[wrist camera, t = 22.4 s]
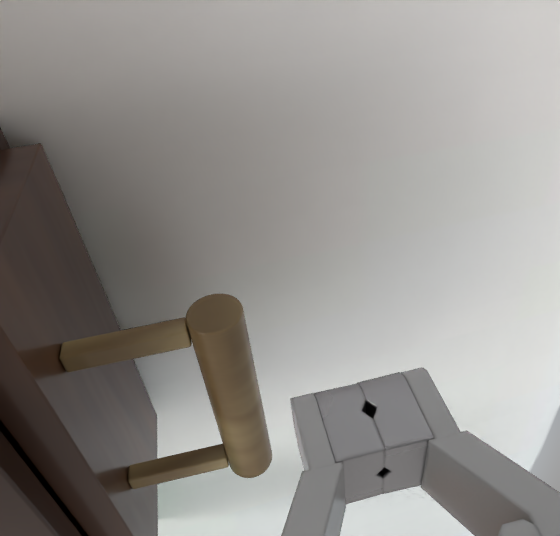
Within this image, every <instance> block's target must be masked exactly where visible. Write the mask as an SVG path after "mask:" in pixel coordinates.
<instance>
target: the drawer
mask: <svg viewBox="0 0 560 536" xmlns="http://www.w3.org/2000/svg"><path fill="white" fill-rule="evenodd" d="M191 340H192V343H193V347H194V350H195V353H196V357H197V360H198V363H199V366H200V370H201V373H202V376H203V379H204V383H205V386H206V389H207V393H208V396H209V399H210V402H211V406H212V409H213V412H214V416H215V419H216V422H217V425H218V429H219V432H220V435H221V438H222V442H223V444H219V445H215V446H211V447H206V448H202V449H198V450H193V451H189V452H185V453H180V454H176V455H172V456H167V457H163V458H159V459H157V414H156V412H155V410H154V407H153V405H152V403H151V400H150V398H149V396H148V393H147V391H146V389H145V386H144V384H143V381H142V379H141V377H140V374H139V372H138V370H137V367H136V365H135V363H134V360H133V359H135V358H140V357H145V356H149V355H154V354H159V353H163V352H168V351H173V350H178V349H182V348H187V347H190V346H191V344H192V343H191ZM0 431H1V432H2V434H3V435H4V436H5V437H6V439H7V440H8V441H9V443H10V444H11V445H12V446H13V448H14V449H15V450H16V451H17V453H18V454H19V455H20V457H21V458H22V459H23V460H24V462H25V463H26V464H27V466H28V467H29V468H30V469H31V471H32V472H33V473H34V475H35V476H36V477H37V478H38V480H39V481H40V482H41V484H42V485H43V486H44V487H45V489H46V490H47V491H48V493H49V494H50V495H51V496H52V498H53V499H54V500H55V502H56V503H57V504H58V505H59V507H60V508H61V509H62V511H63V512H64V513H65V514H66V516H67V517H68V518H69V520H70V521H71V522H72V523H73V525H74V526H75V527H76V529H77V530H78V531H79V532H80V534H81V535H82V536H84V531H85V532H86V534H87V535H88V536H158V506H157V484H159V483H163V482H167V481H171V480H176V479H180V478H184V477H189V476H193V475H197V474H201V473H206V472H210V471H214V470H218V469H223V468H227V467H228V466H229V465H230V467H231V469H232V471H233V472H234V473H235V474H237V475H239V476H241V477H244V478H253V477H257V476H259V475H261V474H262V473H264V472H265V471H266V470H267V468H268V467H269V465H270V463H271V460H272V450H271V445H270V440H269V435H268V430H267V425H266V421H265V416H264V411H263V406H262V401H261V396H260V391H259V386H258V381H257V376H256V371H255V366H254V361H253V356H252V351H251V346H250V341H249V336H248V331H247V326H246V321H245V316H244V311H243V306H242V304H241V303H240V301H239V300H238V299H237V298H235V297H233V296H231V295H228V294H211V295H207V296H205V297H202V298H200V299H198V300H197V301H196V302H194V303H193V304H192V305H191V306H190V308H189V309H188V311H187V314H186V318H179V319H174V320H169V321H164V322H159V323H155V324H150V325H145V326H140V327H135V328H130V329H126V330H120V327H119V325H118V323H117V320H116V318H115V316H114V313H113V311H112V309H111V306H110V304H109V302H108V299H107V297H106V295H105V292H104V290H103V287H102V285H101V283H100V280H99V278H98V276H97V273H96V271H95V269H94V266H93V264H92V262H91V259H90V257H89V255H88V252H87V250H86V248H85V245H84V243H83V240H82V238H81V236H80V233H79V231H78V229H77V226H76V224H75V222H74V219H73V217H72V215H71V212H70V210H69V208H68V205H67V203H66V201H65V198H64V196H63V193H62V191H61V189H60V186H59V184H58V182H57V179H56V177H55V175H54V172H53V170H52V168H51V165H50V163H49V161H48V158H47V156H46V154H45V151H44V149H43V146H42V144H41V143H38V144H32V145H26V146H21V147H15V148H9V149H3V150H0ZM228 461H229V463H228Z"/></svg>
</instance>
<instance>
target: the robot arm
mask: <svg viewBox="0 0 560 536" xmlns="http://www.w3.org/2000/svg"><path fill="white" fill-rule="evenodd" d="M290 402H291V408H292V415H293V422H294V428H295V433H296V438H297V443H298V448H299V452H300V456H301V460H302V464H303V468H304V471H302V474H301V477H300V480H299V483H298V486H297V489H296V492H295V495H294V498H293V501H292V504H291V507H290V511H289V514H288V517H287V520H286V523H285V526H284V529H283V532H282V535H281V536H340V531H341V527H342V522H343V518H344V513H345V509H346V504H349V503H352V502H356V501H359V500H363V499H366V498H370V497H373V496H377V495H380V494H384V493H389V492H393V491H397V490H402V489H406V488H411V487H415V486H420V485H421V488H422V489H423V490H424V491H426V492H427V493H428V494H429V495H430V496H431V497H432V498H433V499H434V500H436V501H437V502H438V503H439V504H440V505H441V506H442V507H443V508H444V509H446V510H447V511H448V512H449V513H450V514H451V515H452V516H453V517H454V518H456V519H457V520H458V521H459V522H460V523H461V524H462V525H463V526H464V527H466V528H467V529H468V530H469V531H470V532H471V533H472V534H473V535H474V536H560V492H558V491H557V490H555V489H554V488H552V487H551V486H549V485H548V484H546V483H545V482H543V481H542V480H540V479H539V478H537V477H536V476H534V475H533V474H531V473H530V472H528V471H527V470H525V469H524V468H522V467H521V466H519V465H518V464H516V463H515V462H513V461H512V460H510V459H509V458H507V457H506V456H504V455H503V454H501V453H500V452H498V451H497V450H495V449H494V448H492V447H491V446H489V445H488V444H486V443H485V442H483V441H482V440H480V439H479V438H477V437H476V436H474V435H473V434H471V433H470V432H468V431H464V432H460V430H459V428H458V426H457V425H456V423H455V421H454V419H453V417H452V415H451V414H450V412H449V410H448V408H447V406H446V404H445V402H444V401H443V399H442V397H441V395H440V393H439V391H438V390H437V388H436V386H435V384H434V382H433V380H432V379H431V377H430V375H429V373H428V371H427V370H425V369H424V368H417V369H413V370H409V371H405V372H401V373H400V372H398V373H394V374H390V375H386V376H382V377H378V378H374V379H370V380H366V381H362V382H358V383H357V384H352V385H348V386H343V387H339V388H334V389H330V390H325V391H321V392H316V393H311V394H306V395H302V396H298V397H294V398H291V399H290Z"/></svg>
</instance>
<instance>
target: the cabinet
mask: <svg viewBox="0 0 560 536" xmlns="http://www.w3.org/2000/svg"><path fill="white" fill-rule="evenodd" d="M9 148H10V147H9V145H8V143H7V141H6V139H5V136H4V134H3V132H2V130H1V128H0V150H3V149H9ZM0 536H82V535H81V534H80V532H79V531H78V530H77V529H76V527H75V526H74V525H73V523H72V522H71V521H70V520H69V518H68V517H67V516H66V514H65V513H64V512H63V511H62V509H61V508H60V507H59V505H58V504H57V503H56V502H55V500H54V499H53V498H52V496H51V495H50V494H49V493H48V491H47V490H46V489H45V487H44V486H43V485H42V484H41V482H40V481H39V480H38V478H37V477H36V476H35V475H34V473H33V472H32V471H31V469H30V468H29V467H28V466H27V464H26V463H25V462H24V460H23V459H22V458H21V457H20V455H19V454H18V453H17V451H16V450H15V449H14V448H13V446H12V445H11V444H10V443H9V441H8V440H7V439H6V437H5V436H4V435H3V434H2V432H1V431H0ZM84 536H88V535H87V534H86V532H85V531H84Z"/></svg>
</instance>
